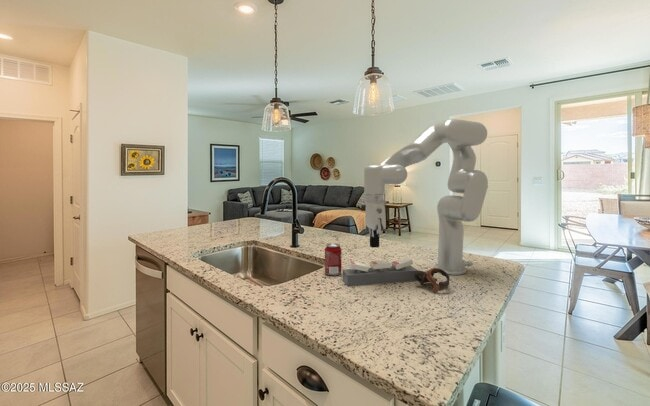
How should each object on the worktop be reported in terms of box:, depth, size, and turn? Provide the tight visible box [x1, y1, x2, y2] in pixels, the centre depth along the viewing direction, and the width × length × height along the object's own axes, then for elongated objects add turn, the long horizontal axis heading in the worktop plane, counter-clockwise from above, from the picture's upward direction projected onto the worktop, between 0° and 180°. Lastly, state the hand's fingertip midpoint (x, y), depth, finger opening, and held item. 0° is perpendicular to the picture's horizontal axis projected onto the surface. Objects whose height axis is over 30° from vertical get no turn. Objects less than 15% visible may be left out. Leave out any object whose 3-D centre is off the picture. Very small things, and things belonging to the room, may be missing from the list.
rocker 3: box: [390, 256, 414, 270], centre depth 117 cm, size 7×4×2 cm, turn 100°
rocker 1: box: [347, 260, 370, 272], centre depth 113 cm, size 7×4×2 cm, turn 102°
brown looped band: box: [414, 267, 451, 294], centre depth 107 cm, size 12×10×8 cm
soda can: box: [324, 242, 342, 277], centre depth 123 cm, size 7×7×12 cm
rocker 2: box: [369, 259, 392, 269], centre depth 115 cm, size 7×4×2 cm, turn 101°
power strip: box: [342, 265, 421, 287], centre depth 116 cm, size 35×7×5 cm, turn 101°
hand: (374, 246), depth 114 cm, fingers closed
